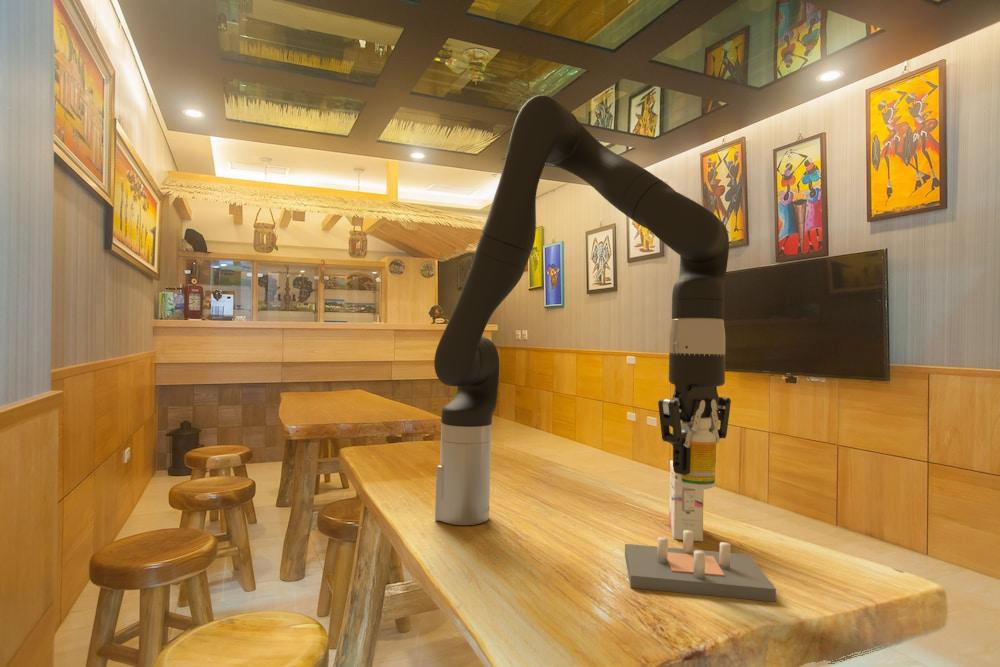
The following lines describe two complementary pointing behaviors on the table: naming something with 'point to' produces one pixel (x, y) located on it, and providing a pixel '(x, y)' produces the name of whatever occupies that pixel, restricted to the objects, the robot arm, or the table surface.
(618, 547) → the table surface
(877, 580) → the table surface
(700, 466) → the supplement bottle
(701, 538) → the ink cartridge box
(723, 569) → the pin tray
